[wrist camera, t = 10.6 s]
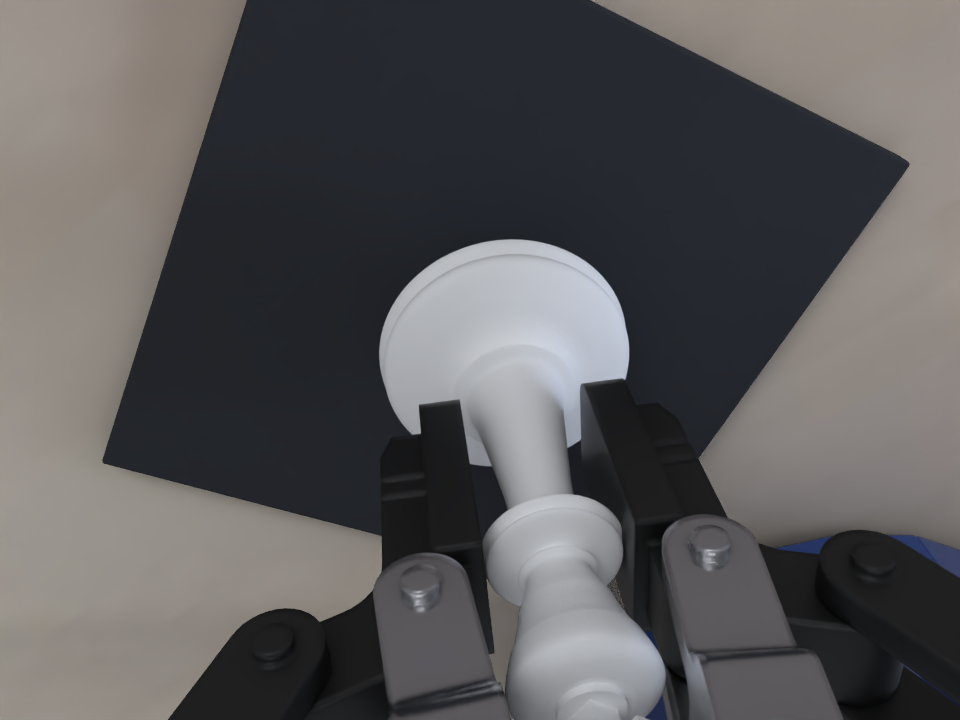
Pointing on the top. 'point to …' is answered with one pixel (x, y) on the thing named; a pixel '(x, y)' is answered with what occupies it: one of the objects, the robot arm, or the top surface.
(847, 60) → the top surface
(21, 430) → the top surface
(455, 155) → the mat
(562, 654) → the chess piece
